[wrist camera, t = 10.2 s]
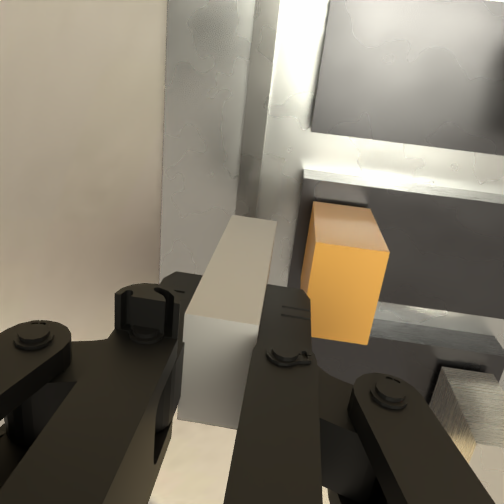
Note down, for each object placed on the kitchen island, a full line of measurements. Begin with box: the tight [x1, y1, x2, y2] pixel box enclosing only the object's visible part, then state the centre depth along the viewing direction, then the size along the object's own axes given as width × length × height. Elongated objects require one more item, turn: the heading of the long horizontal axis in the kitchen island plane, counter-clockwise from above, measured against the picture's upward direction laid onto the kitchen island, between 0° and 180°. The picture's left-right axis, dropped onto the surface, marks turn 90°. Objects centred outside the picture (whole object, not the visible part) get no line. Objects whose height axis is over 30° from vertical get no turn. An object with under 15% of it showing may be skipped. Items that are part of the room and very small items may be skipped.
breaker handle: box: [301, 201, 390, 345], centre depth 15 cm, size 2×3×4 cm, turn 174°
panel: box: [159, 0, 504, 504], centre depth 16 cm, size 20×18×8 cm
